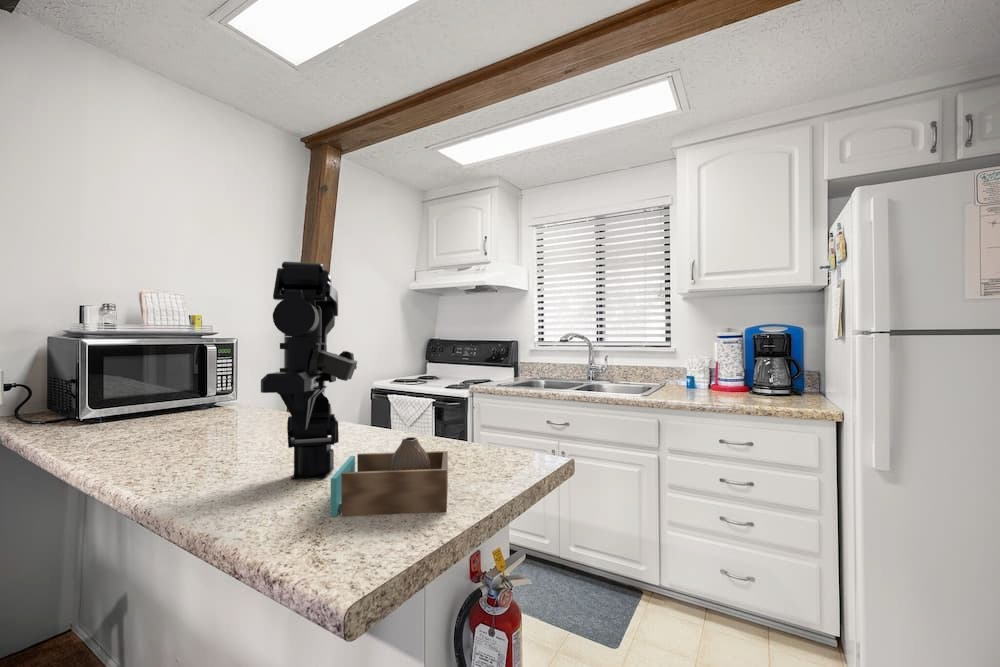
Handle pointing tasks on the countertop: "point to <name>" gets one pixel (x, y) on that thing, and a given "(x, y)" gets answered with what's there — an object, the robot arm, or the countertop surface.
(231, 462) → the countertop surface
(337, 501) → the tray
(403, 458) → the vase
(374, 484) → the caddy
